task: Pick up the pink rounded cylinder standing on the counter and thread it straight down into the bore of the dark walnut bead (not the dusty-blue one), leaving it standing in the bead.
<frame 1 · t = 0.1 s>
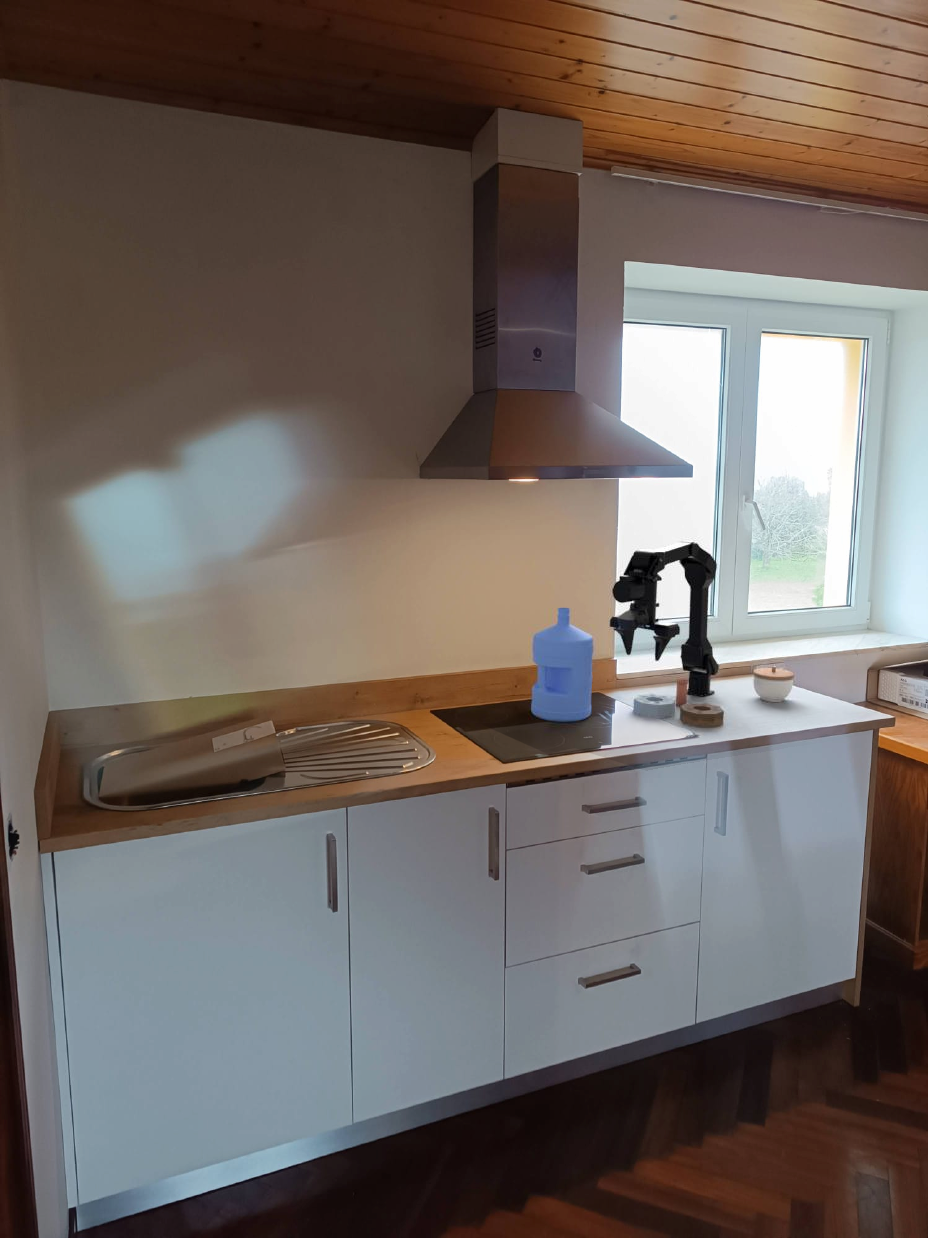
hand: (642, 657, 224), 15 cm above the worktop, fingers open, 9 cm apart
pink rounded cylinder: (681, 705, 233), on the worktop
blue bead: (654, 712, 226), on the worktop
walnut bead: (701, 721, 218), on the worktop
lidded jar: (771, 699, 240), on the worktop
water jug: (560, 714, 224), on the worktop
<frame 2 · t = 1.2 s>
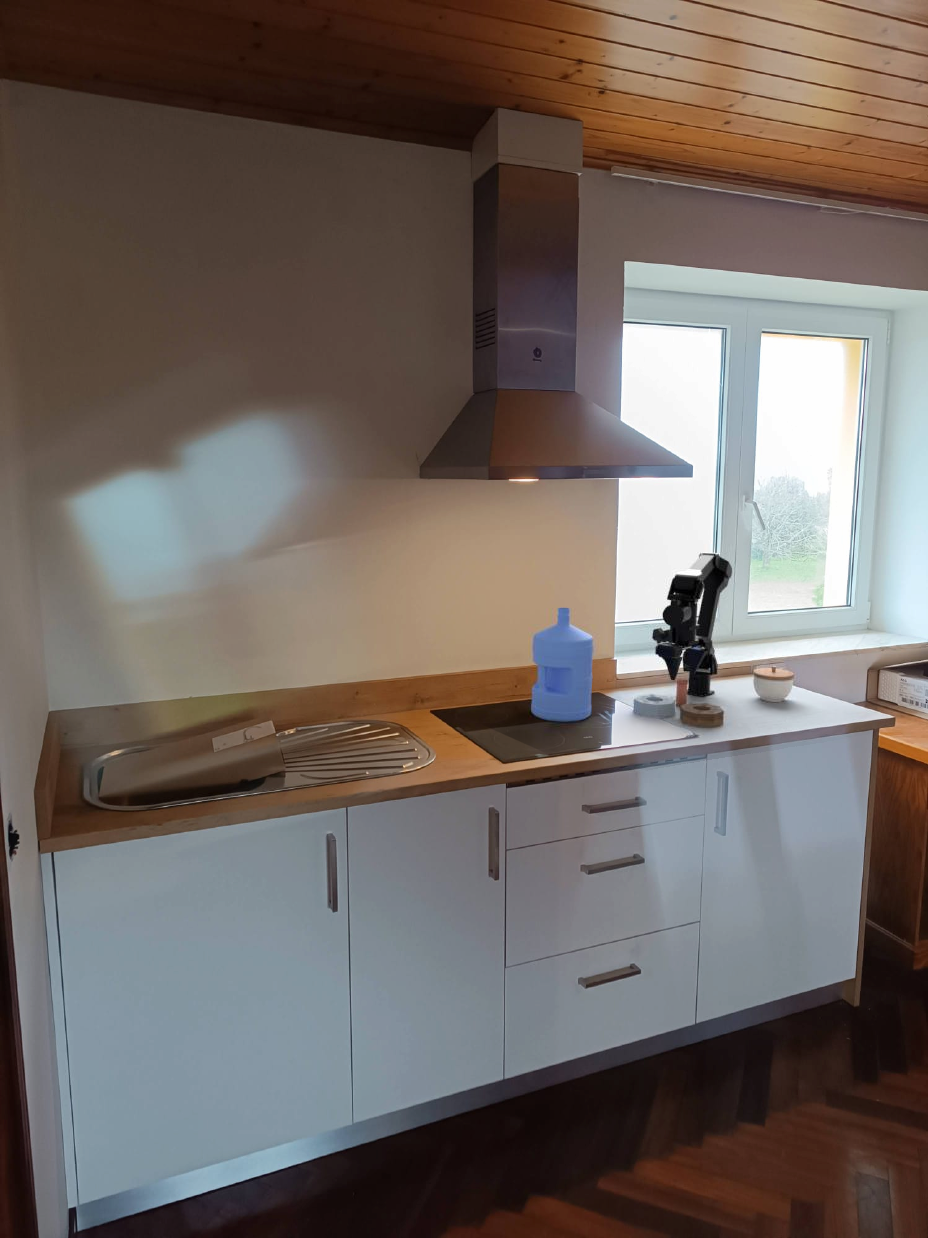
hand: (682, 677, 231), 8 cm above the worktop, fingers open, 9 cm apart
nothing on the worktop moved.
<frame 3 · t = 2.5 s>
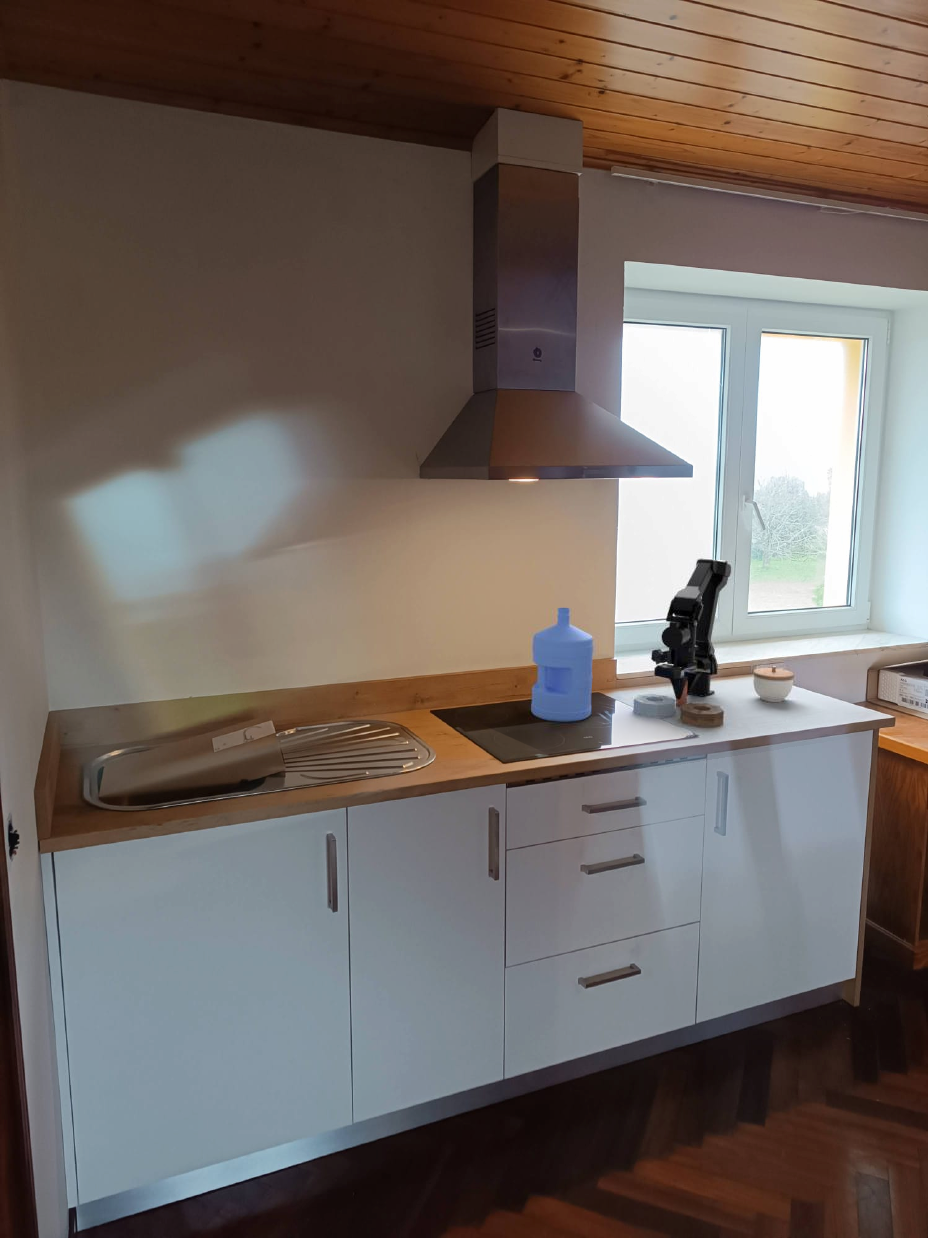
hand: (681, 698, 232), 2 cm above the worktop, fingers closed on pink rounded cylinder, 3 cm apart
pink rounded cylinder: (681, 705, 233), on the worktop, touching gripper
everything else where it was.
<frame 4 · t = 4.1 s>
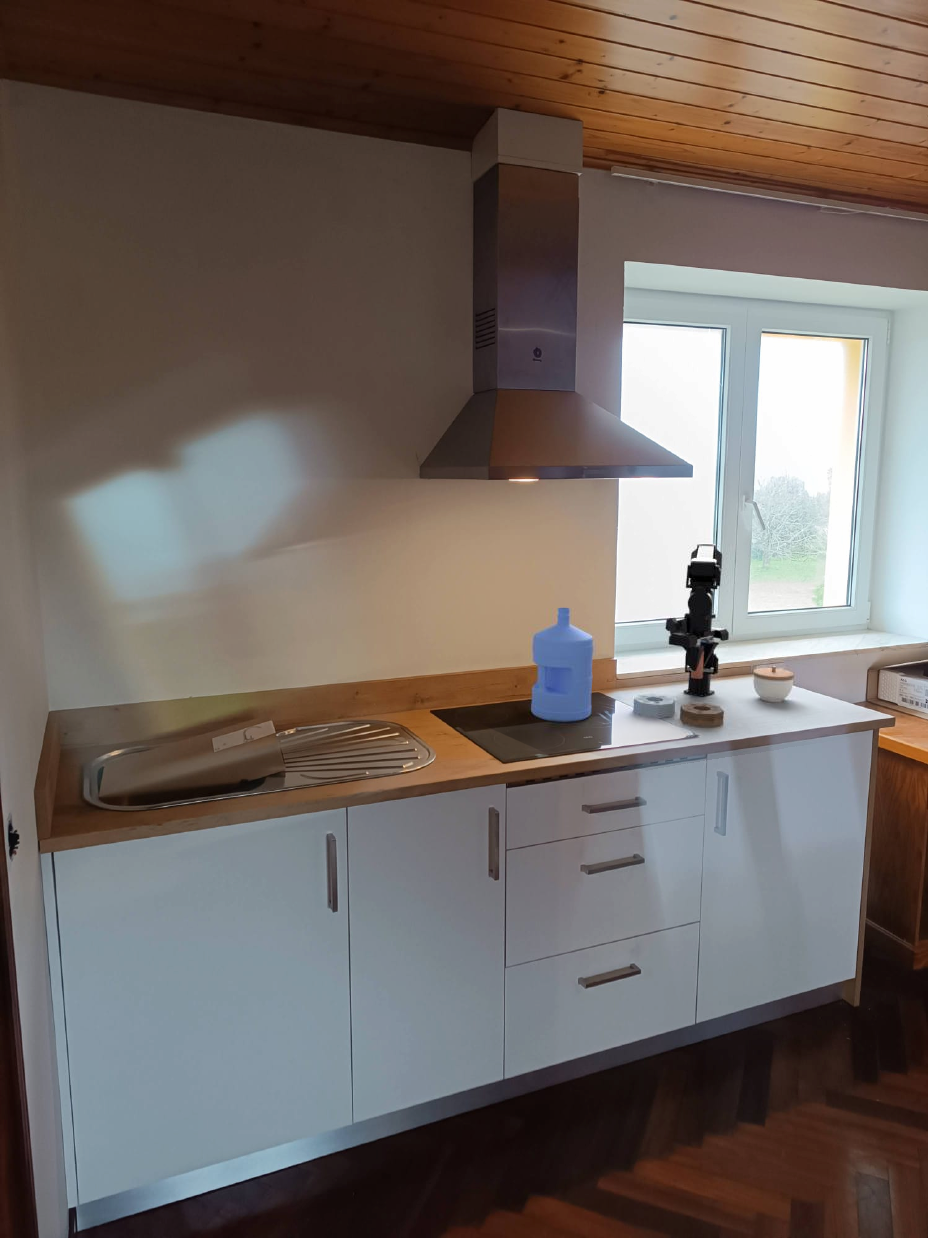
hand: (697, 669, 219), 13 cm above the worktop, fingers closed on pink rounded cylinder, 3 cm apart
pink rounded cylinder: (696, 677, 220), point 11 cm above the worktop, touching gripper
everything else where it was.
when the fingers open (4 cm above the worktop, at t = 5.9 s): pink rounded cylinder drops 2 cm, resting in walnut bead.
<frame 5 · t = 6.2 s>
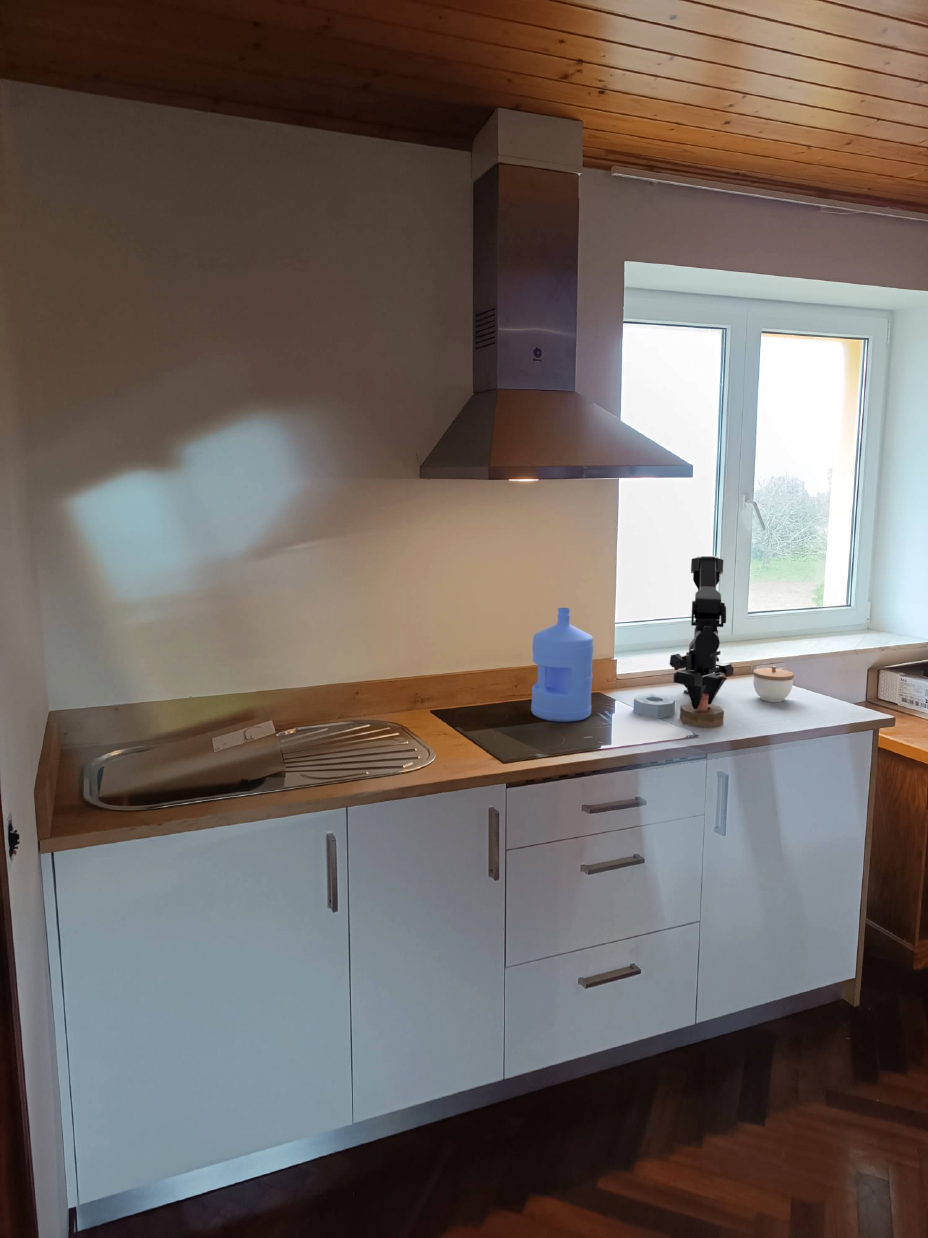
hand: (701, 706, 217), 4 cm above the worktop, fingers open, 6 cm apart
pink rounded cylinder: (701, 721, 218), resting in walnut bead
everything else where it was.
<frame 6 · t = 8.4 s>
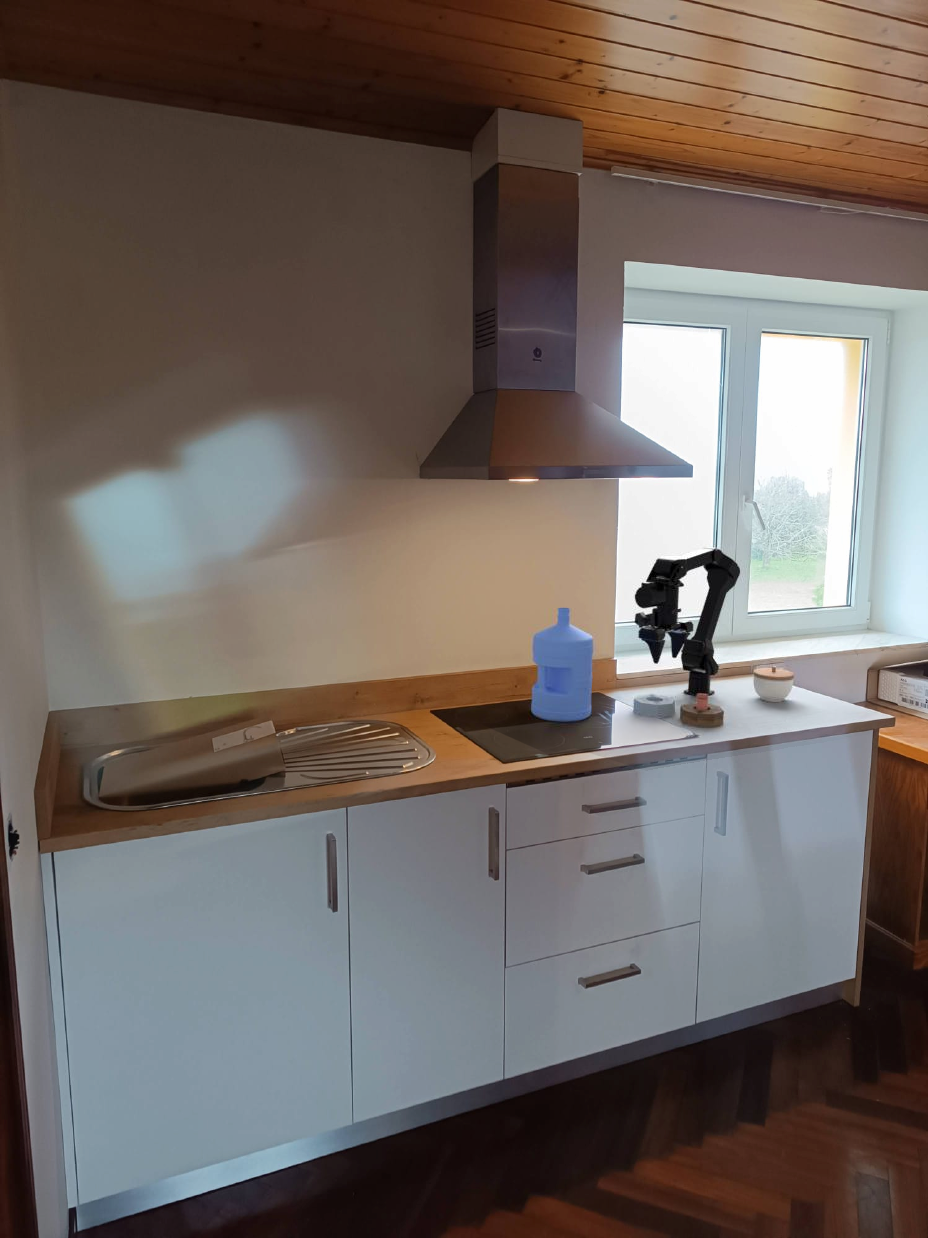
hand: (665, 660, 234), 12 cm above the worktop, fingers open, 9 cm apart
nothing on the worktop moved.
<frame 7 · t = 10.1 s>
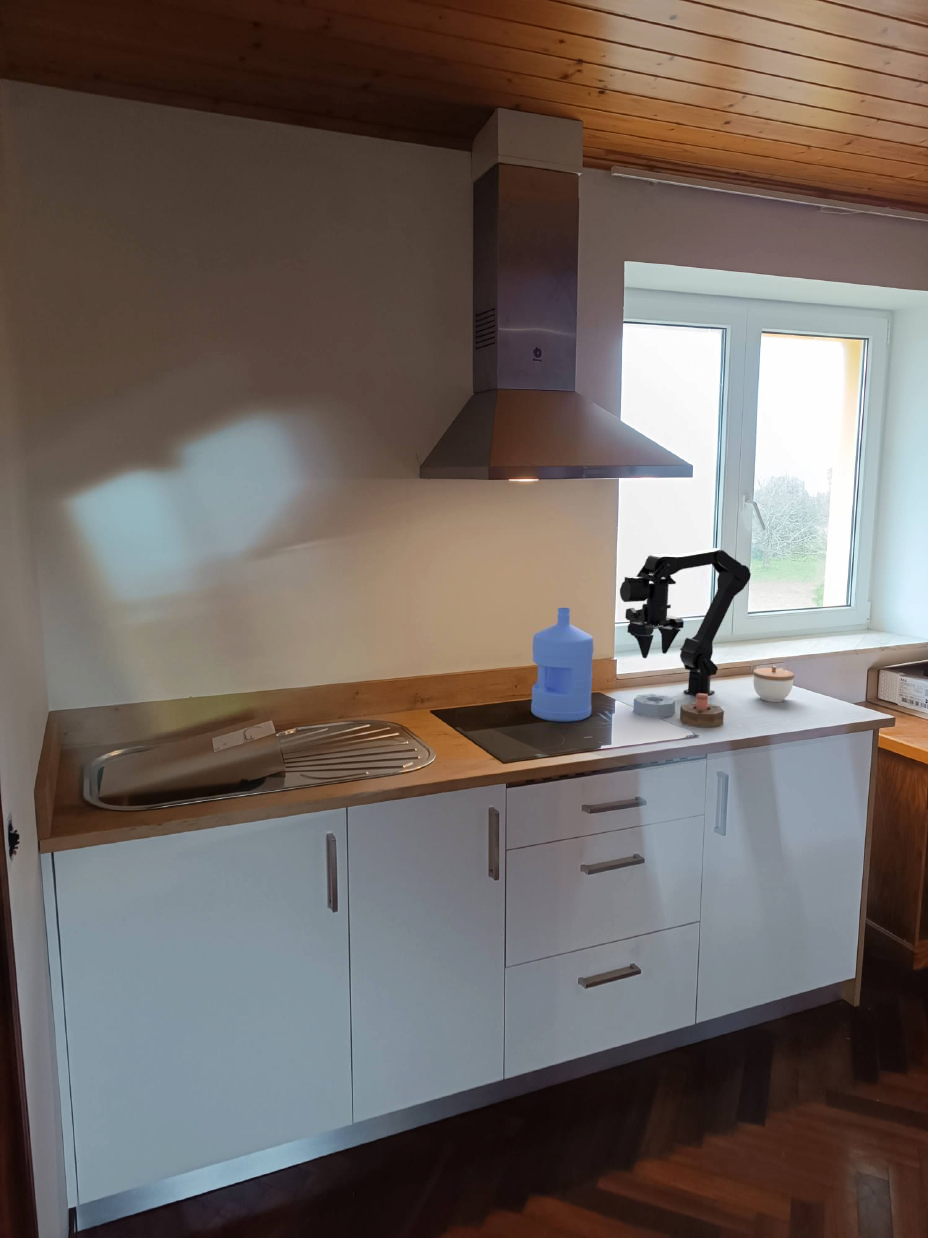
hand: (654, 655, 239), 12 cm above the worktop, fingers open, 9 cm apart
nothing on the worktop moved.
at the end: pink rounded cylinder 0.0 cm off-centre on the walnut bead, point 0.0 cm above the walnut bead's base; pink rounded cylinder tilted 1°; the gripper is holding nothing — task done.
